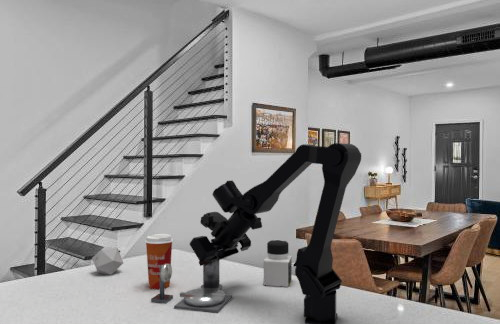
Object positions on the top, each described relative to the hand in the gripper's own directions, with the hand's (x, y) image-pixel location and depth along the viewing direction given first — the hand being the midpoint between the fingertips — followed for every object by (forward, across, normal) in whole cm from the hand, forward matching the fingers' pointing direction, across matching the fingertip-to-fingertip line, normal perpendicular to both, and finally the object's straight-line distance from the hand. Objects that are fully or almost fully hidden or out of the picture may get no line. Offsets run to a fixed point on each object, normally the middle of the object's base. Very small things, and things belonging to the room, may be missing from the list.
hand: (206, 262), depth 116 cm
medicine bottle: (-4, -16, +14) cm, 22 cm away
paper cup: (+13, +7, -3) cm, 15 cm away
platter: (-1, +9, +9) cm, 13 cm away
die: (+30, +8, -20) cm, 37 cm away
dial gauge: (+6, +14, +4) cm, 16 cm away
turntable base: (0, +8, +10) cm, 13 cm away
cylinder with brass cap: (+4, 0, +6) cm, 7 cm away
